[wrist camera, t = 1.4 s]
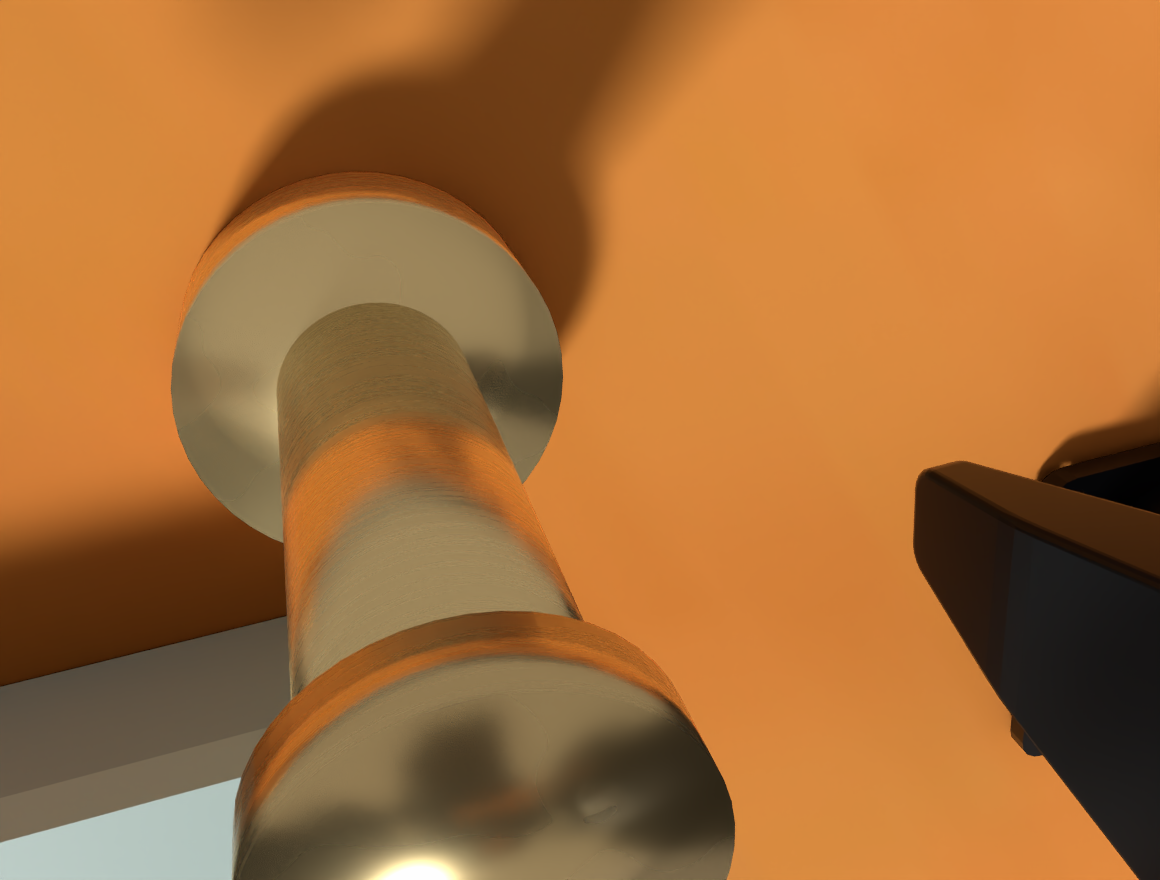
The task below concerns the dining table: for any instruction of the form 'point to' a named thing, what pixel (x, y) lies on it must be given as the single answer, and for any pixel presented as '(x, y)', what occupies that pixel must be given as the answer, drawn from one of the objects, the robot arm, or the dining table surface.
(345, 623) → the brass door knob
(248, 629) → the keyhole plate
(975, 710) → the dining table surface
